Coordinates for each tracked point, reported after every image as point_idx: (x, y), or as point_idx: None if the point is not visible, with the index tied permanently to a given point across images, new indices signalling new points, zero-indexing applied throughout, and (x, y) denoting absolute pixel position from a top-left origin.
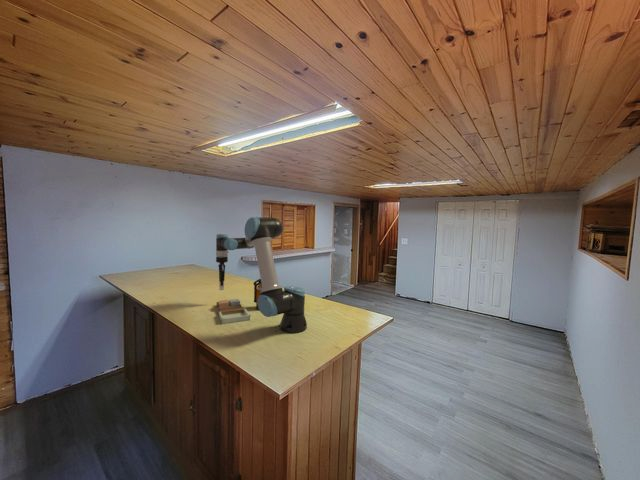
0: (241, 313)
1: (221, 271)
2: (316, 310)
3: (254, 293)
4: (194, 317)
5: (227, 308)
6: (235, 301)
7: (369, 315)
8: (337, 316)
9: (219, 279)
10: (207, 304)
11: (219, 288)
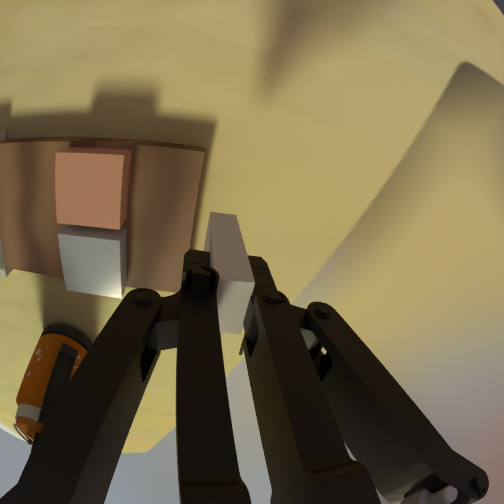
0: None
1: (26, 479)
2: None
3: (49, 380)
4: (59, 4)
5: (33, 192)
6: (68, 265)
7: (20, 435)
8: (9, 412)
9: (268, 295)
10: (269, 100)
11: (229, 221)
